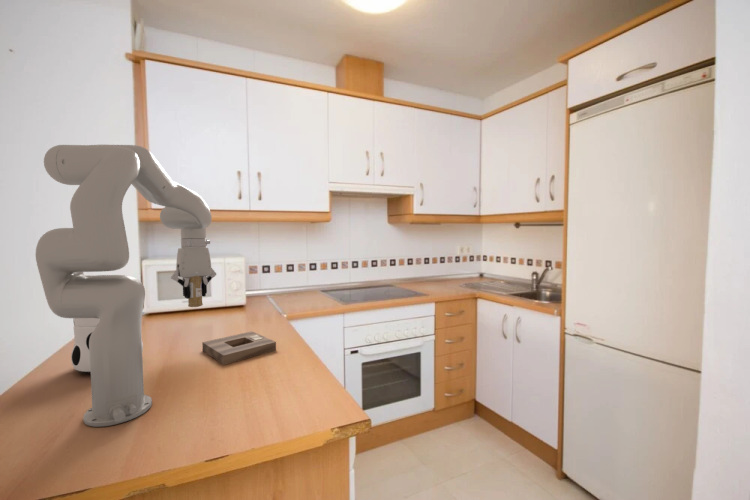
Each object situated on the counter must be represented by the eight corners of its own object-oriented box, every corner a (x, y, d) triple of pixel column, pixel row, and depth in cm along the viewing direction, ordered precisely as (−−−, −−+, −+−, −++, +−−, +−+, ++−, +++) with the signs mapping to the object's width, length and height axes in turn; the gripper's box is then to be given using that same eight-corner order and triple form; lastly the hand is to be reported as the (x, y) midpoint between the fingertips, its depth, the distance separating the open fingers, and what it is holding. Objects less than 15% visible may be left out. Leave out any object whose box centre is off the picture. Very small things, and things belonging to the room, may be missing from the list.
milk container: (86, 360, 110) (84, 305, 109) (149, 353, 116) (147, 301, 115) (60, 382, 94) (56, 318, 93) (134, 373, 100) (132, 312, 99)
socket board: (276, 350, 119) (275, 341, 119) (223, 364, 106) (223, 354, 106) (252, 338, 132) (251, 330, 132) (202, 350, 119) (202, 341, 119)
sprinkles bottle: (203, 306, 117) (202, 267, 117) (188, 308, 115) (187, 268, 114) (201, 304, 121) (200, 266, 120) (187, 305, 118) (185, 267, 118)
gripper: (214, 243, 125) (215, 292, 126) (162, 244, 113) (164, 299, 114) (223, 243, 120) (224, 295, 121) (169, 244, 108) (171, 302, 109)
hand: (195, 296), depth 118 cm, fingers closed on sprinkles bottle, 4 cm apart
